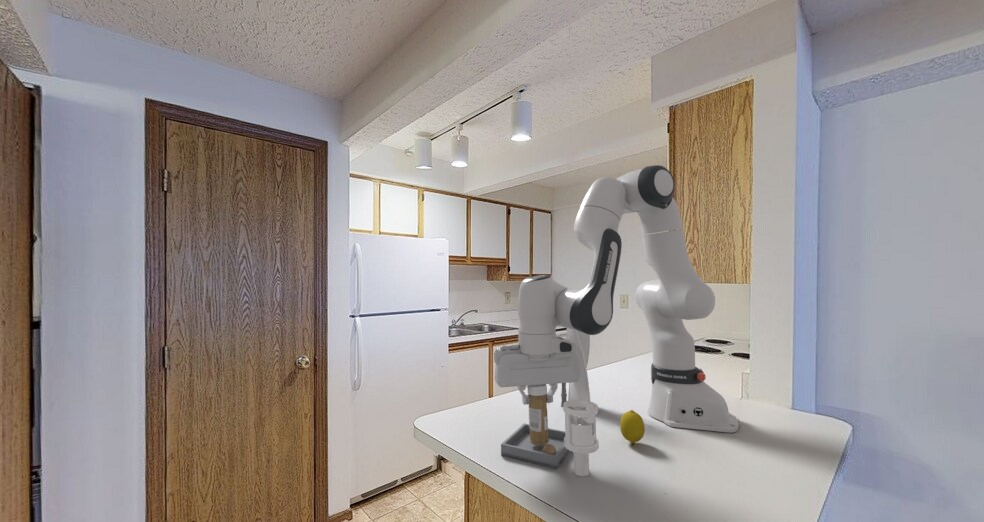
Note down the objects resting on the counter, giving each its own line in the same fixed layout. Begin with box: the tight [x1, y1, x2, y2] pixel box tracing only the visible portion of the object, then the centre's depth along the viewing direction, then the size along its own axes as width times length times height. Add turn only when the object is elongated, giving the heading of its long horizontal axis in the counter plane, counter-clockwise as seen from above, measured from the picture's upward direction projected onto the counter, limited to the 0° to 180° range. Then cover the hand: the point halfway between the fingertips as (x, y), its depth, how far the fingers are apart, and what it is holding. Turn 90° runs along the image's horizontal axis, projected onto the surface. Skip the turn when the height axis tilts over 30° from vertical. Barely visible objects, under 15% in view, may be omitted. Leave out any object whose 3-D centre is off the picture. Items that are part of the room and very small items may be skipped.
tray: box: [500, 423, 571, 470], centre depth 90 cm, size 13×13×2 cm
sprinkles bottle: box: [527, 384, 549, 446], centre depth 90 cm, size 5×5×13 cm
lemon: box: [619, 409, 645, 445], centre depth 92 cm, size 6×6×8 cm
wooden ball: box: [543, 444, 556, 455], centre depth 84 cm, size 3×3×3 cm
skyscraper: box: [560, 328, 591, 411], centre depth 119 cm, size 8×8×28 cm
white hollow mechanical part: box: [562, 400, 600, 477], centre depth 79 cm, size 7×7×15 cm
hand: (537, 402), depth 90 cm, fingers closed on sprinkles bottle, 4 cm apart
